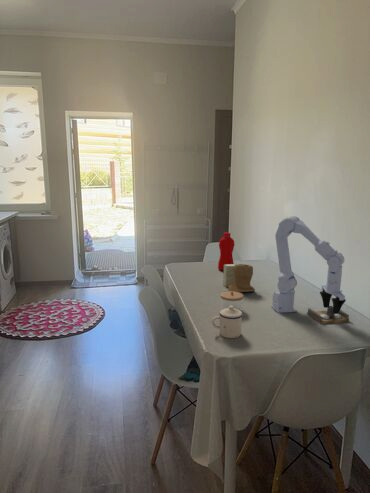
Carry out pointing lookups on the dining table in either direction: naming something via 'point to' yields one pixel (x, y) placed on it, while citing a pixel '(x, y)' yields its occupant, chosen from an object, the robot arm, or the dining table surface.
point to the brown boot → (242, 278)
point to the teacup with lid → (229, 322)
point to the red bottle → (225, 251)
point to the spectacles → (330, 314)
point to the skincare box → (228, 275)
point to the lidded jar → (231, 299)
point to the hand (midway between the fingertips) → (330, 310)
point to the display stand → (319, 319)
